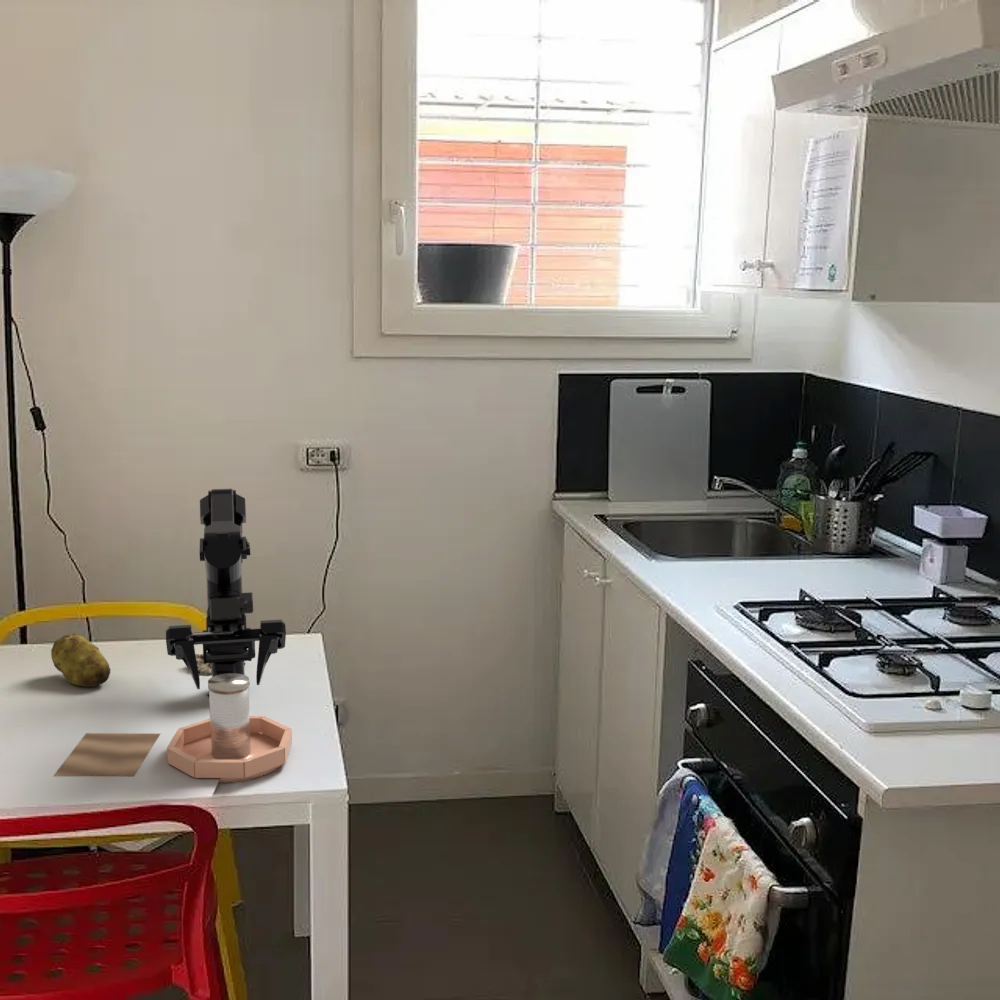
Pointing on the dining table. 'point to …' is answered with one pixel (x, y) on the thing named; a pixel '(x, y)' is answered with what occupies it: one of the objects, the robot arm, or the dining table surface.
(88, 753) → the walnut board
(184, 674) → the dining table surface
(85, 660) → the potato
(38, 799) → the dining table surface
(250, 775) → the terracotta bowl
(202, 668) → the mineral rock
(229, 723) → the polished metal canister
